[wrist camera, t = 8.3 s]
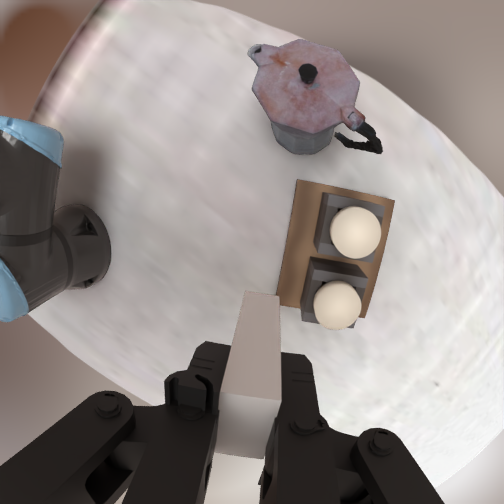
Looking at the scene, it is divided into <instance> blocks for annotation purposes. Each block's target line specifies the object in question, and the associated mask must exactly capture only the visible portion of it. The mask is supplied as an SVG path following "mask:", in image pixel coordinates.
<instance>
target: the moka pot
mask: <svg viewBox="0 0 504 504" xmlns="http://www.w3.org/2000/svg"><path fill="white" fill-rule="evenodd" d="M248 56H249V57H250V58H251V59H252V60H253V61H254V62H255V63H256V65H257V66H258V71H257V74H256V76H255V79H254V82H253V86H252V91H253V92H254V94H255V96H256V97H257V99H258V100H259V102H260V104H261V105H262V107H263V109H264V110H265V112H266V114H267V115H268V117H269V119H270V121H271V125H272V129H273V132H274V135H275V138H276V141H277V142H278V143H279V144H280V145H281V146H283V147H284V148H286V149H287V150H288V151H290V152H291V153H294V154H315V153H316V152H318V151H319V150H321V149H323V148H324V147H326V146H327V145H329V143H330V141H331V138H332V135H333V132H334V128H335V127H336V126H337V125H339V124H341V123H344V124H345V125H346V126H347V127H348V128H349V129H350V130H352V131H356V132H358V133H359V134H361V135H363V136H364V137H366V138H367V139H368V140H369V141H370V142H369V141H366V143H365V142H353V140H350V139H348V138H346V137H345V136H344V135H342V134H341V133H340V132H339V133H336V132H335V136H334V137H336V138H337V139H338V140H339V141H341V143H343V145H344V146H345V147H347V148H354V149H359V150H364V151H368V152H374V153H376V154H381V153H382V152H383V150H382V148H383V147H382V145H381V141H380V139H378V138H377V137H376V132H375V131H374V128H372V127H371V126H370V125H369V124H367V123H366V122H365V116H364V115H363V114H362V113H360V112H359V111H358V110H357V109H356V108H355V102H356V98H357V94H358V90H359V86H360V81H359V80H358V78H357V77H356V75H355V74H354V72H353V70H352V69H351V67H350V66H349V64H348V63H347V62H346V60H345V59H344V58H343V56H342V55H341V53H340V52H339V51H338V50H335V49H332V48H329V47H326V46H323V45H319V44H316V43H313V42H309V41H306V40H302V39H298V40H295V41H292V42H290V43H287V44H285V45H283V46H280V47H276V46H271V45H267V44H263V45H261V44H256V45H254V46H252V47H251V48H250V49H249V50H248Z"/></svg>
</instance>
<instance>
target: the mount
mask: <svg viewBox="0 0 504 504" xmlns="http://www.w3.org/2000/svg"><path fill="white" fill-rule="evenodd" d="M394 203H395V200H391V199H387V198H383V197H378V196H374V195H370V194H366V193H361V192H357V191H353V190H348V189H343V188H339V187H334V186H329V185H324V184H319V183H314V182H309V181H303V180H298V179H297V184H296V190H295V196H294V201H293V207H292V213H291V219H290V224H289V230H288V235H287V241H286V246H285V251H284V257H283V262H282V267H281V273H280V278H279V283H278V288H277V293H276V296H279V302H280V305H282V306H288V307H294V308H300V309H301V317H302V321H305V322H311V323H318V324H320V323H319V322H318V320H317V318H316V316H315V311H314V306H313V301H314V297H315V294H316V292H317V291H318V290H319V288H321V285H322V281H324V282H331V281H344V282H347V283H349V284H350V285H351V286H352V287H353V288H354V289H355V291H356V292H357V294H358V296H359V298H360V300H361V312H360V315H359V316H358V317H360V318H365V316H366V313H367V310H368V306H369V303H370V300H371V297H372V293H373V290H374V286H375V283H376V279H377V276H378V272H379V268H380V264H381V261H382V257H383V253H384V249H385V245H386V240H387V236H388V232H389V227H390V222H391V218H392V213H393V208H394ZM349 206H358V207H361V208H364V209H366V210H368V211H370V212H371V213H373V214H374V215H375V216H376V218H377V219H378V221H379V224H380V227H381V238H380V241H379V244H378V246H377V247H376V249H375V250H374V251H373V252H372V253H371V254H369V255H368V256H366V257H363V258H358V259H354V258H349V257H346V256H344V255H343V254H342V253H340V252H339V251H338V249H337V248H336V247H335V245H334V244H333V242H332V240H331V237H330V224H331V221H332V219H333V217H334V216H335V215H336V214H337V213H338V212H339V211H340V210H341V209H343V208H345V207H349ZM355 322H356V321H355ZM355 322H354V323H353V324H351V325H350V326H348V327H346V328H354V325H355Z"/></svg>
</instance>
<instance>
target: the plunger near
mask: <svg viewBox="0 0 504 504" xmlns="http://www.w3.org/2000/svg"><path fill="white" fill-rule="evenodd" d="M330 237H331V240H332V242H333V244H334V245H335V247H336V248H337V249H338V251H339V252H340V253H342V254H343V255H344V256H346V257H349V258H354V259H358V258H363V257H366V256H368V255H369V254H371V253H372V252H373V251H374V250H375V249H376V247H377V246H378V244H379V241H380V238H381V227H380V224H379V221H378V219H377V218H376V216H375V215H374V214H373V213H371V212H370V211H368V210H366V209H364V208H361V207H358V206H349V207H345V208H343V209H341V210H340V211H339V212H338V213H337V214H336V215H335V216H334V217H333V219H332V221H331V224H330Z"/></svg>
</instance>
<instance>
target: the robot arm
mask: <svg viewBox="0 0 504 504" xmlns="http://www.w3.org/2000/svg"><path fill="white" fill-rule="evenodd" d="M63 145H64V140H63V136H62V135H61V133H60V132H59V131H57V130H55V129H53V128H50V127H47V126H44V125H41V124H37V123H34V122H30V121H26V120H21V119H14V118H10V117H6V116H0V321H3V322H10V321H13V320H15V319H16V318H19V317H21V316H25V315H26V314H28V313H29V312H30V311H32V310H33V309H35V308H36V307H38V306H40V305H41V304H43V303H44V302H46V301H47V300H49V299H51V298H52V297H54V296H55V295H57V294H59V293H60V292H62V291H64V290H72V289H84V288H88V287H90V286H92V285H94V284H95V283H97V282H98V281H100V280H101V279H102V278H103V277H104V275H105V274H106V272H107V269H108V267H109V263H110V256H111V249H110V241H109V237H108V234H107V231H106V228H105V226H104V224H103V223H102V221H101V219H100V218H99V217H98V216H97V215H96V214H95V213H94V212H93V211H92V210H91V209H89V208H88V207H86V206H83V205H78V204H74V205H68V206H64V207H62V208H59V209H58V210H56V211H55V212H54V209H55V200H56V192H57V185H58V179H59V173H60V168H61V167H62V164H61V158H62V151H63ZM314 382H315V381H314V375H313V369H312V364H311V362H310V361H309V360H308V358H307V357H306V356H305V355H301V354H293V353H284V352H281V339H280V302H279V296H275V295H268V294H262V293H255V292H249V291H245V294H244V298H243V302H242V306H241V310H240V314H239V318H238V322H237V326H236V330H235V334H234V338H233V342H232V346H230V345H224V344H219V343H213V342H208V341H205V342H204V343H203V344H201V345H200V346H198V347H197V348H196V351H195V353H194V355H193V358H192V360H191V362H190V365H189V367H188V369H187V370H184V371H177V372H175V373H173V374H171V375H169V376H168V377H167V378H166V380H165V381H164V387H165V404H163V405H159V406H133V405H132V403H131V401H130V399H129V398H127V397H126V396H125V395H123V394H121V393H118V392H115V391H101V392H97V393H95V394H93V395H91V396H89V397H88V398H87V399H86V400H84V401H83V402H82V403H81V404H79V405H78V406H77V407H76V408H74V409H73V410H72V411H70V412H69V413H68V414H67V415H65V416H64V417H63V418H62V419H60V420H59V421H58V422H56V423H55V424H54V425H53V426H52V427H50V428H49V429H48V430H46V431H45V432H44V433H43V434H41V435H40V436H39V437H37V438H36V439H35V440H33V441H32V442H31V443H30V444H28V445H27V446H26V447H24V448H23V449H22V450H21V451H19V452H18V453H17V454H15V455H14V456H13V457H12V458H10V459H9V460H8V461H6V462H5V463H4V464H2V465H1V466H0V504H114V503H115V502H116V501H117V500H118V499H119V497H120V496H121V495H122V494H123V493H124V492H125V491H126V489H127V488H128V487H129V488H128V490H127V492H126V495H125V497H124V499H123V502H122V504H204V500H205V495H206V490H207V485H208V481H209V477H210V472H211V468H212V458H213V454H214V452H216V453H222V454H228V455H234V456H241V457H248V458H257V459H264V456H265V465H264V468H263V471H262V474H261V477H260V480H259V482H258V485H261V488H260V502H259V504H444V502H443V501H442V499H441V498H440V496H439V495H438V493H437V492H436V490H435V489H434V487H433V486H432V484H431V483H430V481H429V480H428V479H427V477H426V476H425V474H424V473H423V471H422V470H421V468H420V467H419V465H418V464H417V462H416V461H415V460H414V458H413V457H412V455H411V454H410V452H409V451H408V449H407V448H406V447H405V445H404V444H403V442H402V441H401V439H400V438H399V437H398V436H397V435H396V434H395V433H393V432H391V431H389V430H387V429H382V428H370V429H368V430H366V431H363V432H362V434H361V435H360V436H359V437H356V436H352V435H348V434H344V433H341V432H338V431H335V430H334V429H332V428H330V427H329V425H328V423H327V421H326V420H325V419H324V418H323V417H322V416H321V415H320V413H319V406H318V400H317V393H316V387H315V383H314Z"/></svg>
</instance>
